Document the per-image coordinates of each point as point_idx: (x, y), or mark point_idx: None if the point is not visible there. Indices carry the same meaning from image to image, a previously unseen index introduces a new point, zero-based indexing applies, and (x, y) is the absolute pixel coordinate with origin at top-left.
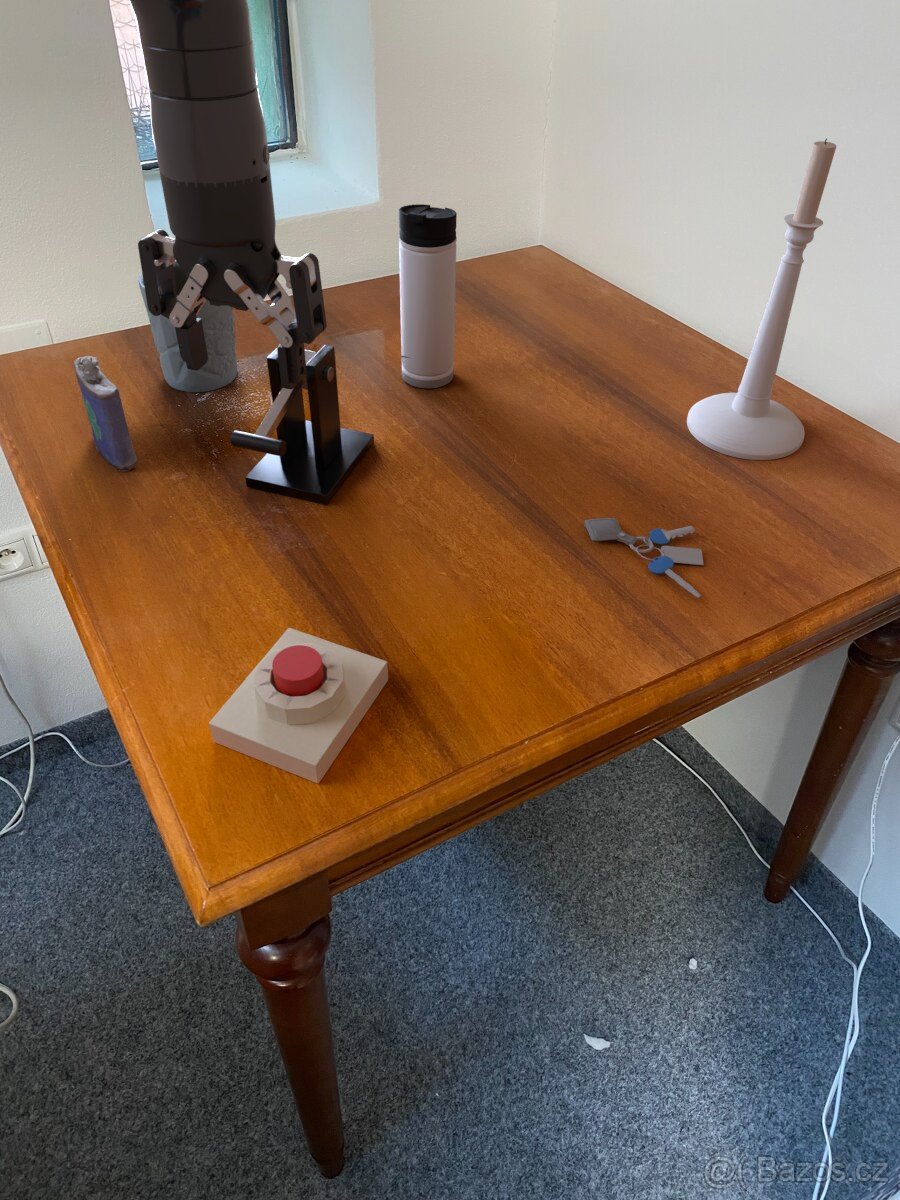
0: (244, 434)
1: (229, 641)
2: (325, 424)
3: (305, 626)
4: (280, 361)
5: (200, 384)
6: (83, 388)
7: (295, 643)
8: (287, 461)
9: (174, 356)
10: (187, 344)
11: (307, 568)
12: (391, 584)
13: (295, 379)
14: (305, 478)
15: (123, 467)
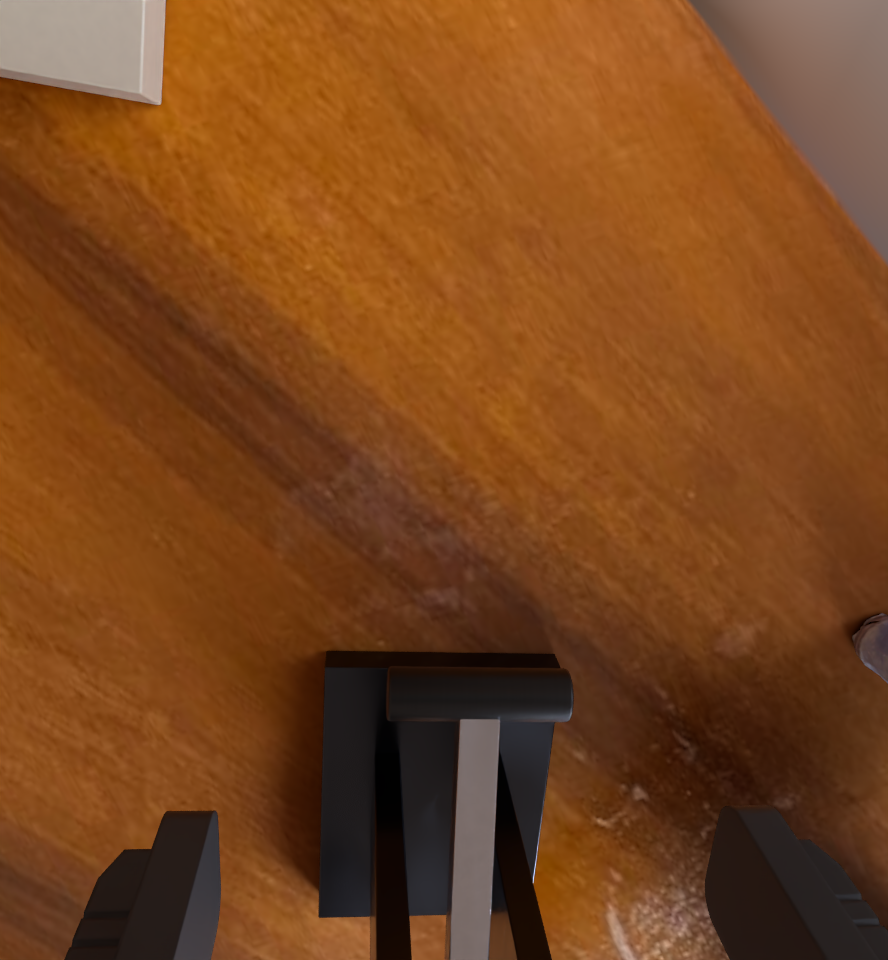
0: (528, 707)
1: (331, 76)
2: (373, 874)
3: (164, 193)
4: (164, 947)
5: None
6: None
7: (85, 27)
8: None
9: None
10: (820, 923)
11: (266, 412)
12: (25, 418)
13: (123, 869)
14: None
15: (880, 621)
